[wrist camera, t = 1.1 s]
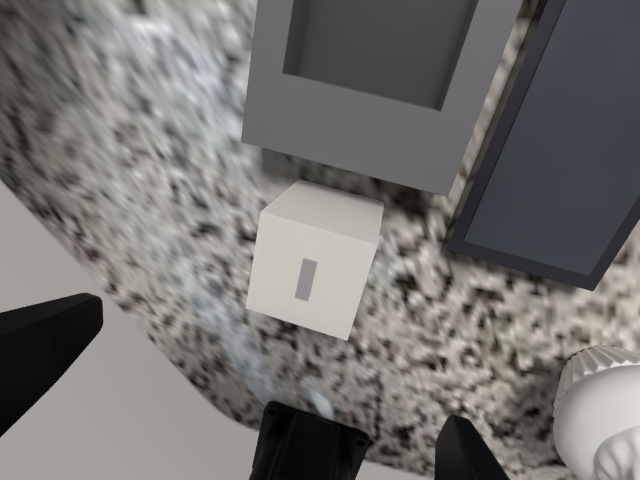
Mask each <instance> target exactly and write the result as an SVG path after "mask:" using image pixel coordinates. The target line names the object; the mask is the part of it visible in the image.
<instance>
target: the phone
mask: <svg viewBox="0 0 640 480" xmlns="http://www.w3.org/2000/svg"><path fill="white" fill-rule="evenodd" d="M639 219H640V0H540V2H539V4H538V7H537V9H536V12H535V14H534V17H533V19H532V22H531V24H530V27H529V29H528V32H527V34H526V36H525V39H524V41H523V44H522V46H521V49H520V51H519V54H518V56H517V59H516V61H515V64H514V66H513V69H512V71H511V74H510V76H509V79H508V81H507V84H506V86H505V89H504V91H503V94H502V96H501V99H500V101H499V104H498V106H497V109H496V111H495V114H494V116H493V119H492V121H491V124H490V126H489V129H488V131H487V134H486V136H485V139H484V141H483V144H482V146H481V149H480V151H479V154H478V156H477V159H476V161H475V164H474V166H473V169H472V171H471V174H470V176H469V179H468V181H467V184H466V186H465V189H464V191H463V194H462V196H461V199H460V201H459V204H458V206H457V209H456V211H455V214H454V216H453V219H452V221H451V224H450V226H449V229H448V231H447V234H446V236H445V239H444V244H445V248H446V250H448V251H452V252H455V253H459V254H463V255H466V256H470V257H473V258H477V259H480V260H484V261H487V262H491V263H494V264H498V265H502V266H505V267H509V268H512V269H516V270H519V271H523V272H526V273H530V274H533V275H537V276H540V277H544V278H548V279H551V280H555V281H558V282H562V283H565V284H569V285H572V286H576V287H579V288H583V289H587V290H590V291H594V289H595V288H596V286H597V285H598V283H599V282H600V280H601V279H602V277H603V275H604V274H605V272H606V271H607V269H608V268H609V266H610V264H611V263H612V261H613V260H614V258H615V257H616V255H617V253H618V252H619V250H620V249H621V247H622V246H623V244H624V243H625V241H626V239H627V238H628V236H629V235H630V233H631V232H632V230H633V228H634V227H635V225H636V224H637V222H638V221H639Z"/></svg>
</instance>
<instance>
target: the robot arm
mask: <svg viewBox="0 0 640 480" xmlns="http://www.w3.org/2000/svg"><path fill="white" fill-rule="evenodd" d="M102 325H103V305H102V300H101V298H100V297H98V296H95V295H92V294H89V293H80V294H76V295H72V296H68V297H64V298H60V299H56V300H52V301H47V302H44V303H39V304H35V305H31V306H27V307H22V308H19V309H14V310H10V311H6V312H2V313H0V437H1V436H2V435H3V434H4V433H5V432H6V431H7V430H8V429H9V428H10V427H11V426H12V425H13V424H14V423H16V422H17V420H19V419H20V418H21V416H23V415H24V414H25V413H26V412H27V411H28V410H29V409H30V407H32V406H33V405H34V404H35V403H36V402H37V401H38V400H39V399H40V398H41V397H42V396H43V395H44V394H45V393H46V392H47V391H48V390H49V389H50V388H51V387H52V386H53V385H54V384H55V383H56V382H57V381H58V380H59V378H60V377H61V376H62V375H63V374H64V373H65V372H66V371H67V369H68V368H69V367H70V366H71V364H72V363H73V362H74V361H75V360H76V359H77V358H78V356H79V355H80V354H81V353H82V352H83V351H84V349H85V348H86V347H87V346H88V345H89V343H90V342H91V341H92V340H93V339H94V338H95V336H96V335H97V334H98V333H99V331H100V330H101V328H102ZM368 447H369V436H368V435H367V434H366V433H365V432H362V431H359V430H356V429H354V428H351V427H348V426H345V425H342V424H339V423H336V422H333V421H330V420H328V419H325V418H322V417H319V416H316V415H313V414H310V413H307V412H304V411H301V410H299V409H296V408H293V407H290V406H287V405H284V404H281V403H278V402H275V401H270V402H268V403H267V405H266V407H265V410H264V414H263V419H262V423H261V428H260V433H259V437H258V443H257V447H256V452H255V457H254V461H253V466H252V468H253V470H252V473H251V475H250V478H249V480H355V478H356V476H357V473H358V471H359V468H360V466H361V464H362V461H363V459H364V456H365V454H366V452H367V449H368ZM434 480H510V479H509V477H508V476H507V474H506V473H505V471H504V470H503V468H502V467H501V465H500V464H499V462H498V461H497V459H496V458H495V456H494V455H493V453H492V452H491V450H490V449H489V447H488V446H487V445H486V443H485V442H484V440H483V439H482V437H481V436H480V434H479V433H478V431H477V430H476V428H475V427H474V425H473V424H472V422H471V421H470V420H469V419H467V418H464V417H461V416H458V415H455V414H451V415H449V417H448V418H447V420H446V422H445V424H444V426H443V428H442V430H441V431H440V433H439V435H438V438H437V441H436V450H435V479H434Z"/></svg>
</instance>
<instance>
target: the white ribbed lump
mask: <svg viewBox="0 0 640 480" xmlns="http://www.w3.org/2000/svg"><path fill="white" fill-rule="evenodd" d="M553 417H554V418H555V419H554V425H553V439H554V444H555V447H556V450H557V452H558V454H559V456H560V457H561V459H562V460H563V462H564V463H565V465H566V466H567V467H568V468H569V469H570V470H571V472H572V473H573V474H574V475H575V476H576V477H577V478H579V479H580V480H640V354H639V353H636V352H633V351H629V350H626V349H623V348H619V347H615V346H614V347H610V346H604V347H601V346H597V347H591V348H590V349H584V350H583V351H582V352H577V355H574V356H572V358H571V359H570V360H568V361H567V364H565V365H564V367H563V370H562V373H561V377H560V381H559V385H558V389H557V393H556V397H555V401H554V412H553Z"/></svg>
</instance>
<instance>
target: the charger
mask: <svg viewBox="0 0 640 480" xmlns="http://www.w3.org/2000/svg"><path fill="white" fill-rule="evenodd" d="M384 203H385V202H383V201H379V200H376V199H372V198H368V197H365V196H361V195H357V194H354V193H350V192H346V191H343V190H339V189H335V188H332V187H328V186H324V185H321V184H317V183H313V182H310V181H306V180H302V179H299V180H298V181H296V182H295V183H294V184H293V185H292V186H290V187H289V188H288V189H287V190H286V191H284V192H283V193H282V194H281V195H280V196H279V197H277V198H276V199H275V200H274V201H273V202H271V203H270V204H269V205H268V206H267V207H265V208H264V209H263V210H262V211H261V213H260V219H259V226H258V232H257V239H256V245H255V252H254V258H253V264H252V271H251V277H250V284H249V290H248V297H247V303H246V309H249V310H252V311H255V312H259V313H262V314H265V315H268V316H271V317H274V318H277V319H280V320H284V321H287V322H290V323H293V324H296V325H299V326H302V327H305V328H309V329H312V330H315V331H318V332H321V333H324V334H327V335H331V336H334V337H337V338H340V339H343V340H346V341H347V340H348V337H349V334H350V331H351V328H352V324H353V321H354V318H355V315H356V312H357V309H358V305H359V302H360V299H361V296H362V293H363V290H364V287H365V283H366V280H367V277H368V274H369V271H370V268H371V264H372V261H373V258H374V255H375V252H376V249H377V245H378V240H379V234H380V228H381V221H382V215H383V209H384Z"/></svg>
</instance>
